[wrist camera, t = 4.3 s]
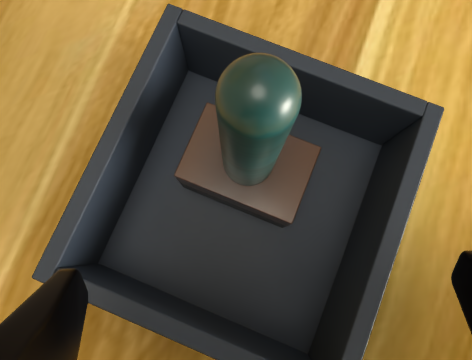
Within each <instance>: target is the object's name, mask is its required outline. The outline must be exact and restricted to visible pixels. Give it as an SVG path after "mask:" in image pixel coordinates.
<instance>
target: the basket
mask: <svg viewBox="0 0 472 360" xmlns="http://www.w3.org/2000/svg"><path fill="white" fill-rule="evenodd" d="M252 53H266V54H271V55H274V56H276V57H278V58H280V59H282V60H283V61H284V62H286V63H287V64H288V65H289V66H290V67H291V68H292V69H293V71H294V72H295V74H296V76H297V77H298V80H299V82H300V86H301V92H302V103H301V108H300V111H299V114H298V116H297V118H296V120H295V123H294V125H293V127H292V129H291V131H290V133H289V135H292V136H294V137H297V138H300V139H302V140H305V141H307V142H310V143H312V144H315V145H317V146H320V147H321V150H320V153H319V156H318V158H317V161H316V164H315V166H314V169H313V171H312V174H311V177H310V179H309V182H308V184H307V187H306V190H305V192H304V195H303V197H302V200H301V203H300V205H299V208H298V210H297V213H296V216H295V218H294V221H293V223H292V224H291V225H289V226H286V227H284V228H281V227H278V226H276V225H274V224H271V223H269V222H266V221H264V220H262V219H259V218H257V217H254V216H252V215H249V214H247V213H245V212H242V211H240V210H237V209H235V208H232V207H230V206H228V205H225V204H223V203H220V202H218V201H215V200H213V199H211V198H208V197H206V196H203V195H201V194H198V193H196V192H194V191H191V190H189V189H186V188H184V187H183V186H182V185H181V184H180V182H179V181H178V180H177V179H176V178H175V176H174V173H175V171H176V169H177V167H178V165H179V162H180V160H181V158H182V156H183V154H184V151H185V149H186V147H187V145H188V143H189V140H190V138H191V136H192V134H193V132H194V129H195V127H196V125H197V123H198V120H199V118H200V116H201V114H202V112H203V109H204V107H205V105H206V103H207V102H208V103H211V104H213V105H215V90H216V86H217V83H218V80H219V78H220V76H221V74H222V73H223V71H224V70H225V69H226V68H227V67H228V65H229V64H231V63H232V62H233V61H234V60H236V59H238V58H240V57H242V56H244V55H247V54H252ZM443 111H444V108H443V107H441V106H438V105H435V104H433V103H430V102H428V103H427V101H425V100H422V99H420V98H417V97H414V96H412V95H409V94H406V93H404V92H401V91H399V90H396V89H393V88H391V87H388V86H385V85H383V84H380V83H377V82H375V81H372V80H369V79H367V78H364V77H361V76H359V75H356V74H354V73H351V72H348V71H346V70H343V69H340V68H338V67H335V66H332V65H330V64H327V63H324V62H322V61H319V60H317V59H314V58H311V57H309V56H306V55H303V54H301V53H298V52H295V51H293V50H290V49H287V48H285V47H282V46H280V45H277V44H274V43H272V42H269V41H266V40H264V39H261V38H258V37H256V36H253V35H250V34H248V33H245V32H242V31H240V30H237V29H235V28H232V27H229V26H227V25H224V24H221V23H219V22H216V21H213V20H211V19H208V18H205V17H203V16H200V15H198V14H195V13H192V12H190V11H187V10H183V9H181V8H179V7H176V6H174V5H171V4H168V5H167V7H166V9H165V11H164V13H163V15H162V17H161V19H160V21H159V23H158V25H157V27H156V29H155V31H154V33H153V35H152V37H151V39H150V41H149V43H148V45H147V47H146V49H145V51H144V53H143V55H142V57H141V59H140V61H139V63H138V65H137V67H136V69H135V71H134V73H133V75H132V77H131V79H130V81H129V83H128V85H127V87H126V89H125V91H124V93H123V95H122V97H121V99H120V101H119V103H118V105H117V107H116V109H115V111H114V113H113V115H112V117H111V119H110V121H109V123H108V125H107V127H106V129H105V131H104V133H103V135H102V137H101V139H100V141H99V143H98V145H97V147H96V149H95V151H94V153H93V155H92V157H91V159H90V161H89V163H88V165H87V167H86V169H85V171H84V173H83V175H82V177H81V179H80V181H79V183H78V185H77V187H76V189H75V191H74V193H73V195H72V197H71V199H70V201H69V203H68V205H67V207H66V209H65V211H64V213H63V215H62V217H61V219H60V221H59V223H58V225H57V227H56V229H55V231H54V233H53V235H52V237H51V239H50V241H49V243H48V245H47V247H46V249H45V251H44V253H43V255H42V257H41V259H40V261H39V263H38V265H37V267H36V269H35V271H34V273H33V275H32V278H33V279H35V280H37V281H40V282H42V283H45V282H46V281H47V280H48V279H49V278H51V277H52V276H53V275H54V274H55V273H56V272H57V271H59V270H61V269H72V268H76V269H78V270H79V271H80V272H81V275H82V277H83V280H84V282H85V285H86V288H87V290H88V303H90V304H92V305H94V306H96V307H99V308H101V309H103V310H105V311H108V312H110V313H112V314H114V315H117V316H119V317H121V318H123V319H126V320H128V321H130V322H132V323H135V324H137V325H139V326H142V327H144V328H146V329H148V330H151V331H153V332H155V333H157V334H160V335H162V336H164V337H166V338H169V339H171V340H173V341H175V342H178V343H180V344H182V345H184V346H187V347H189V348H191V349H193V350H196V351H198V352H200V353H203V354H205V355H207V356H209V357H212V358H214V359H216V360H362V359H363V356H364V353H365V350H366V347H367V344H368V340H369V337H370V334H371V331H372V328H373V325H374V322H375V319H376V316H377V313H378V310H379V307H380V304H381V301H382V298H383V295H384V292H385V289H386V285H387V282H388V279H389V276H390V273H391V270H392V267H393V264H394V261H395V258H396V255H397V252H398V249H399V246H400V243H401V240H402V237H403V234H404V230H405V227H406V224H407V221H408V218H409V215H410V212H411V209H412V206H413V203H414V200H415V197H416V194H417V191H418V188H419V185H420V182H421V179H422V176H423V172H424V169H425V166H426V163H427V160H428V157H429V154H430V151H431V148H432V145H433V142H434V139H435V136H436V133H437V130H438V127H439V124H440V121H441V117H442V114H443Z"/></svg>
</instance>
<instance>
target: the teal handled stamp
mask: <svg viewBox="0 0 472 360" xmlns="http://www.w3.org/2000/svg"><path fill="white" fill-rule="evenodd" d="M301 103H302V92H301V86H300V82H299V80H298V77H297V76H296V74H295V72H294V71H293V69H292V68H291V67H290V66H289V65H288V64H287V63H286V62H284V61H283V60H282V59H280V58H278V57H276V56H274V55H271V54H266V53H252V54H247V55H244V56H242V57H240V58H238V59H236V60H234V61H233V62H232V63H231V64H229V65H228V67H227V68H226V69H225V70H224V71H223V73H222V74H221V76H220V78H219V80H218V83H217V86H216V90H215V105H213V104H211V103H208V102H207V103H206V105H205V107H204V109H203V112H202V114H201V116H200V118H199V120H198V123H197V125H196V127H195V129H194V132H193V134H192V136H191V138H190V140H189V143H188V145H187V147H186V149H185V151H184V154H183V156H182V158H181V160H180V162H179V165H178V167H177V169H176V171H175V173H174V176H175V178H176V179H177V180H178V181H179V182H180V184H181V185H182V186H183V187H184V188H186V189H189V190H191V191H194V192H196V193H198V194H201V195H203V196H206V197H208V198H211V199H213V200H215V201H218V202H220V203H223V204H225V205H228V206H230V207H232V208H235V209H237V210H240V211H242V212H245V213H247V214H249V215H252V216H254V217H257V218H259V219H262V220H264V221H266V222H269V223H271V224H274V225H276V226H278V227H281V228H284V227H286V226H289V225H291V224H292V223H293V221H294V218H295V216H296V213H297V210H298V208H299V205H300V203H301V200H302V197H303V195H304V192H305V190H306V187H307V184H308V182H309V179H310V177H311V174H312V171H313V169H314V166H315V164H316V161H317V158H318V156H319V153H320V150H321V147H320V146H317V145H315V144H312V143H310V142H307V141H305V140H302V139H300V138H297V137H294V136H292V135H289V133H290V131H291V129H292V127H293V125H294V123H295V120H296V118H297V116H298V114H299V111H300V108H301Z"/></svg>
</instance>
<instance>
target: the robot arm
mask: <svg viewBox="0 0 472 360" xmlns="http://www.w3.org/2000/svg"><path fill="white" fill-rule="evenodd" d="M451 280H452V285H453V287H454V290H455V293H456V295H457V298H458V300H459V303H460V305H461V308H462V311H463V313H464V316H465V318H466V321H467V324H468V326H469V329H470V331H471V334H472V251H464V252H462V253H461V254H460V256H459V259H458V261H457V263H456V265H455V268H454V270H453V272H452V277H451ZM87 304H88V290H87V288H86V285H85V282H84V280H83V277H82V275H81V272H80V271H79V270H78V269H76V268H72V269H61V270H59V271H57V272H56V273H55V274H54V275H53V276H52V277H51V278H49V279H48V280H47V281H46V282H45V283H44V284H43V285H42V286H41V287H40V288H39V289H37V290H36V291H35V292H34V293H33V294H32V295H31V296H30V297H29V298H28V299H27V300H26V301H24V302H23V303H22V304H21V305H20V306H19V307H18V308H17V309H16V310H15V311H14V312H13V313H11V314H10V315H9V316H8V317H7V318H6V319H5V320H4V321H3V322H2V323H1V324H0V360H77V357H78V352H79V347H80V341H81V336H82V331H83V325H84V320H85V315H86V309H87Z"/></svg>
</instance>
